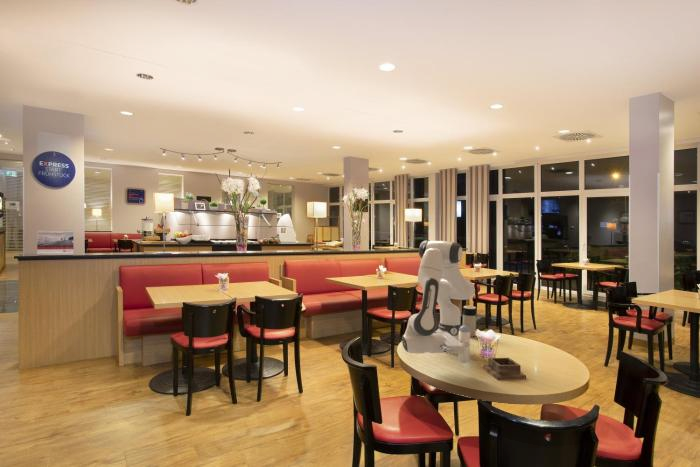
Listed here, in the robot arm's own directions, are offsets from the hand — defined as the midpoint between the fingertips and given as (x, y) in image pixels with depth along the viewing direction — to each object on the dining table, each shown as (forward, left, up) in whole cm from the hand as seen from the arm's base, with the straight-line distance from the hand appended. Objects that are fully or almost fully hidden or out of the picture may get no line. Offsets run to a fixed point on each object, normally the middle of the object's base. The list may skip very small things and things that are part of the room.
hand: (466, 342), depth 182 cm
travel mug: (-62, +29, -15) cm, 70 cm away
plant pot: (-62, +5, -15) cm, 64 cm away
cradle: (0, +19, -15) cm, 24 cm away
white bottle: (0, -1, -9) cm, 9 cm away
